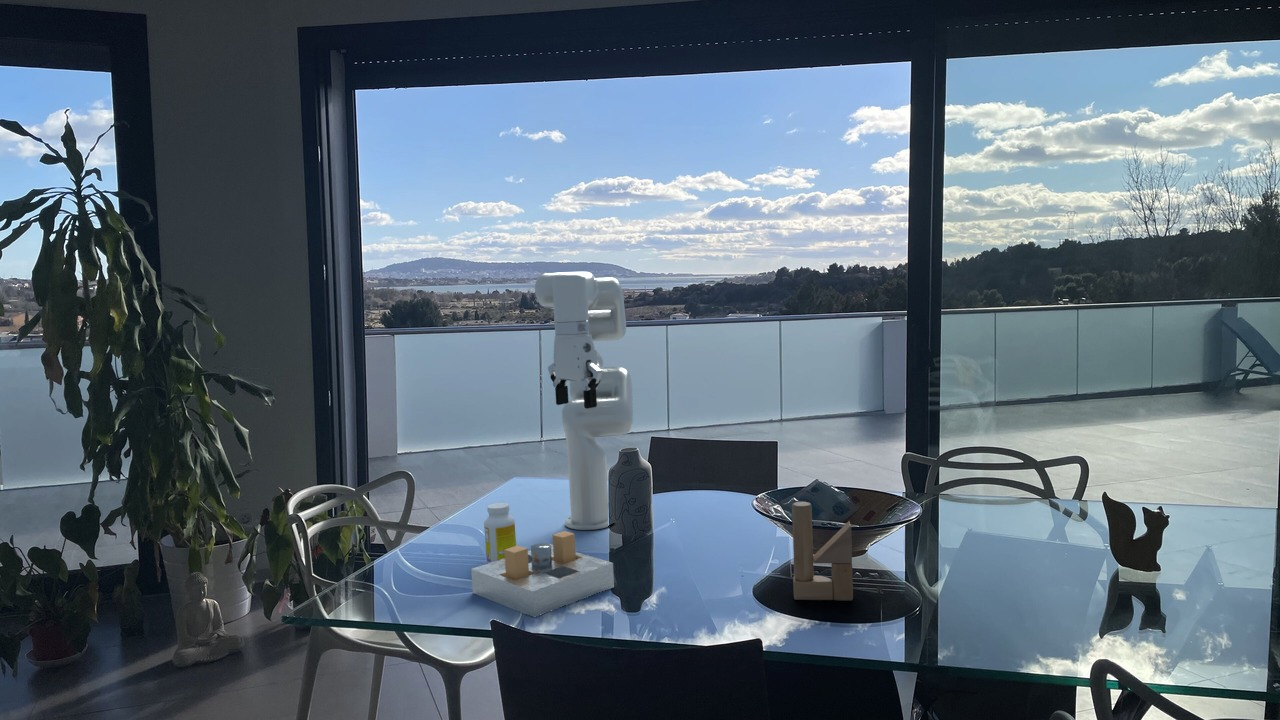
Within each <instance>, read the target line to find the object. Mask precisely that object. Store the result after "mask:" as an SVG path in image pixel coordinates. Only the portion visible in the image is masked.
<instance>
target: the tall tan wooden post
mask: <svg viewBox="0 0 1280 720" xmlns="http://www.w3.org/2000/svg"><path fill="white" fill-rule="evenodd" d="M528 551H529V549H528V548H527V547H523V546H520V545H516V546H514V547H511V548H508V549H505V550H504V553H505V568H506V578H509V579H512V580H514V581H515V580H518V579H521V578H524V577H527V576H529V563H528Z"/></svg>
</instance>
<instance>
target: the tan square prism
mask: <svg viewBox="0 0 1280 720" xmlns="http://www.w3.org/2000/svg"><path fill="white" fill-rule="evenodd" d="M551 536H552V545H553V553H554V561H555V562H559V563H562V564H565V563H568V562H571V561H574V560H576V552H577V551H576V535H575V533H573V532H571V531H566V530H563V531H560V532H557V533H553V534H552V535H551Z"/></svg>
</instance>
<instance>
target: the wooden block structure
mask: <svg viewBox="0 0 1280 720" xmlns="http://www.w3.org/2000/svg"><path fill="white" fill-rule="evenodd" d="M791 509H792V510H791V513H792V516H791V517H792V519H791V520H792V547H793V574H794V575H793V576H792V581H793V585H792V586H793V599H794V600H795V601H796V600H797V601H847V602H848V601H849V602H851V601H853V599H854V587H853V585H854V583H853V582H854V580H853V579H854V578H853V577H854V576H853V555H852V554H853V547H852V543H853V542H852V525H851V522H850V520H848V522H845V524H844V525H843V526H841V528H840V529H839V530H838V531H837V532H836V533H835V534H834V535H833V536H832V537H831V538H830V539H829V540H828V541H826V543H825V544H824V545H823V546H822V547H821V548H820V549H818V550H817V551H816V553H815V554H814V544H813V543H814V542H813V541H814V539H813V506H812V504H811V503H810V502H807V501H795V502H793V503H792V505H791ZM814 564H831V578H829V577H826V576H823V575H815V573H814Z"/></svg>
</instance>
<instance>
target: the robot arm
mask: <svg viewBox="0 0 1280 720" xmlns="http://www.w3.org/2000/svg"><path fill="white" fill-rule="evenodd" d="M534 293H535V298H536V300H537V302H538V303H539V305H540V306H542V307H543V308H550V309H551V308H553V316H554V317H553V320H554V335H555V336H554V340H553V341H554V343H553V362H552V363H551V364H550V365H549V366H547V370H548V373H549V375H550V380H551V381H552V386H553V388H555V389H554V390H555V404H556V405H557V406H560V405H563V407H562V409H561V421H562V426H563V429H564V430H563V431H564V435H565V441H566V450H567V451H566V452H567V465H568V466H567V468H568V483H569V501H570V503H569V504H570V516H568V517H567V518H565V521H564V522H565V523H564V524H565V527H567V528H569V529H572V530H578V531H594V530H600V529H605V528H608V502H609V488H608V485H609V484H608V483H609V482H608V468H607V467H608V465H607V454H606V451H605V449H604V447H603V445H602V444H601V443H600V442H599V441H598V440H597V439H596V437H607V436H608V437H609V436H610V437H611V436H622V435H627V434H628V433H630V432H631V430H632V428H633V424H634V409H633V408H634V407H633V405H634V403H633V384H632V383H633V382H632V377H631V374H630V373H629V371H628V369H627V368H624V367H622V366H604V360H603V357H602V355H601V354H600V353H599V352H598V350H596V349H595V344H594V342H609V341H610V342H611V341H613V342H614V341H619V340H621V339H623V338H624V337H625V335H626V332H627V321H626V320H627V319H626V308H625V300H624V293H623V288H622V286H621V284H620V281H618V279H616V278H615V277H611V276H609V277H595V275H594V274H593V273H591V272H589V271H563V272H562V271H561V272H558V271H557V272H545V273H541V274H539V275H538V276H537V277H536V280H535V283H534ZM568 381H569V387H568V385H567V383H568ZM568 388H569V389H568ZM569 394H570V398H571V400H569Z"/></svg>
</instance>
